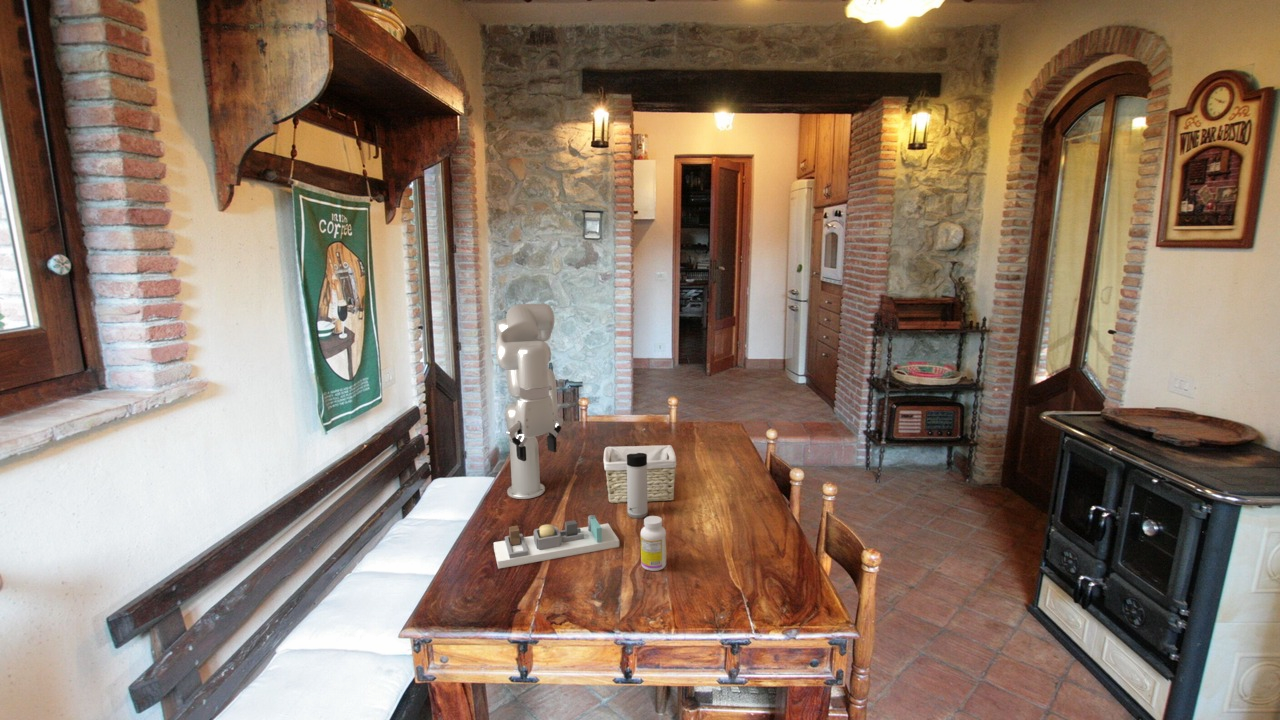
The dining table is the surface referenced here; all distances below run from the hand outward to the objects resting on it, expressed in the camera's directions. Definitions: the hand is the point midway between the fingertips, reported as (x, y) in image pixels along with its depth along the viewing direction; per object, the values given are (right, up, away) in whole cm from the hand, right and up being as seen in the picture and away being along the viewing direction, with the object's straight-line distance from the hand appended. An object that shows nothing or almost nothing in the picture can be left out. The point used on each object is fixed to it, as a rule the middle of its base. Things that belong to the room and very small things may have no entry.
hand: (537, 455), depth 158 cm
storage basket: (+27, -20, +43) cm, 55 cm away
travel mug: (+27, -23, +27) cm, 44 cm away
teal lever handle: (+15, -24, +9) cm, 30 cm away
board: (+4, -27, +7) cm, 28 cm away
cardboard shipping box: (-7, -25, +6) cm, 27 cm away
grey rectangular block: (+8, -24, +9) cm, 27 cm away
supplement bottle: (+31, -29, -3) cm, 42 cm away
